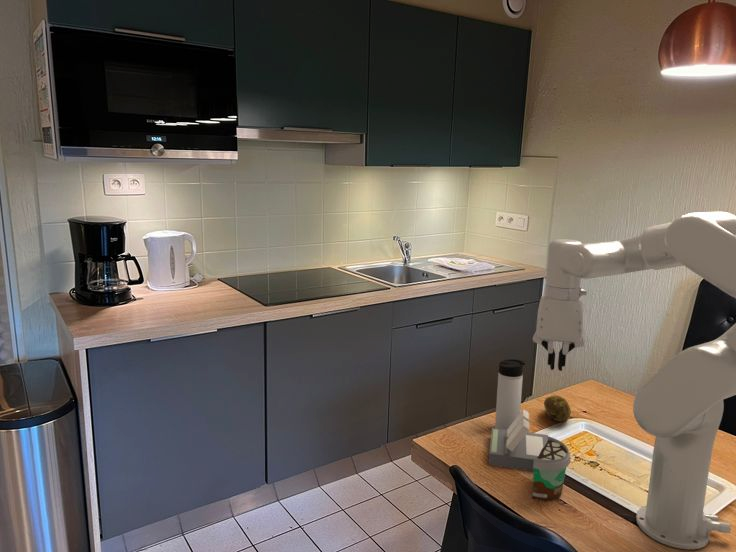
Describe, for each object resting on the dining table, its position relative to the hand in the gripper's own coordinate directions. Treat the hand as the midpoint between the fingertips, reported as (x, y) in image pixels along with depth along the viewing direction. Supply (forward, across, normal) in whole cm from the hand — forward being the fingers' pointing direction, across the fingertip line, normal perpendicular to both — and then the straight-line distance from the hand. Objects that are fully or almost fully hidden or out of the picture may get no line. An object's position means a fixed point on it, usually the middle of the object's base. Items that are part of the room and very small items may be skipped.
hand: (555, 368), depth 129 cm
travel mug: (+23, +10, -11) cm, 28 cm away
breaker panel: (+23, +7, +1) cm, 24 cm away
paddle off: (+20, +10, +6) cm, 23 cm away
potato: (+23, -3, -22) cm, 32 cm away
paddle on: (+20, +10, 0) cm, 22 cm away
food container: (+23, 0, +16) cm, 28 cm away
